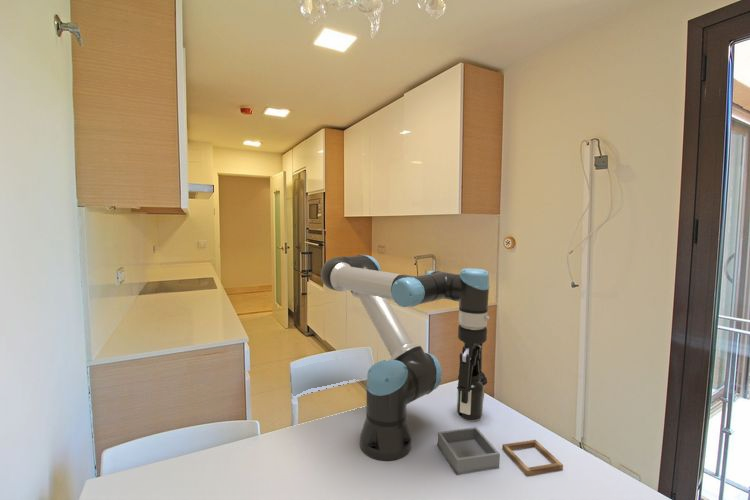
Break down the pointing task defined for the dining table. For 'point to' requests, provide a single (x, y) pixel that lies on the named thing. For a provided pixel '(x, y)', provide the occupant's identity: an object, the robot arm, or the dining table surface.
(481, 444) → the bin
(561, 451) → the dining table surface
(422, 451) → the dining table surface
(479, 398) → the supplement bottle
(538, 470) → the wooden square frame
